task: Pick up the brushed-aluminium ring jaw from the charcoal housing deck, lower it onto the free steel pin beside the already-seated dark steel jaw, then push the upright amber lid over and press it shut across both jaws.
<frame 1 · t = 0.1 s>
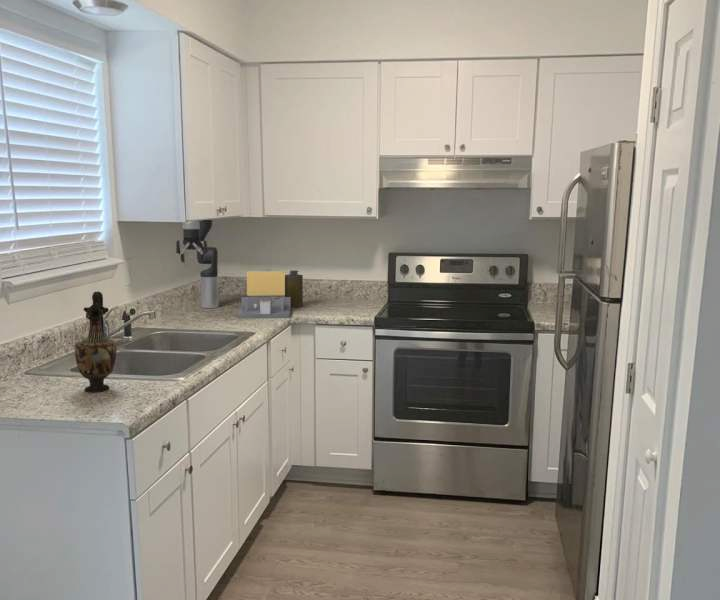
hand: (192, 262, 288), 29 cm above the countertop, fingers open, 8 cm apart
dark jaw: (276, 309, 320), point 2 cm above the countertop, touching housing base
vase: (98, 389, 188), on the countertop
canister: (293, 306, 344), on the countertop
silver jaw: (265, 313, 309), point 2 cm above the countertop, touching housing base
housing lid: (265, 283, 324), point 15 cm above the countertop, hinge at 99.0°
housing base: (264, 314, 317), on the countertop
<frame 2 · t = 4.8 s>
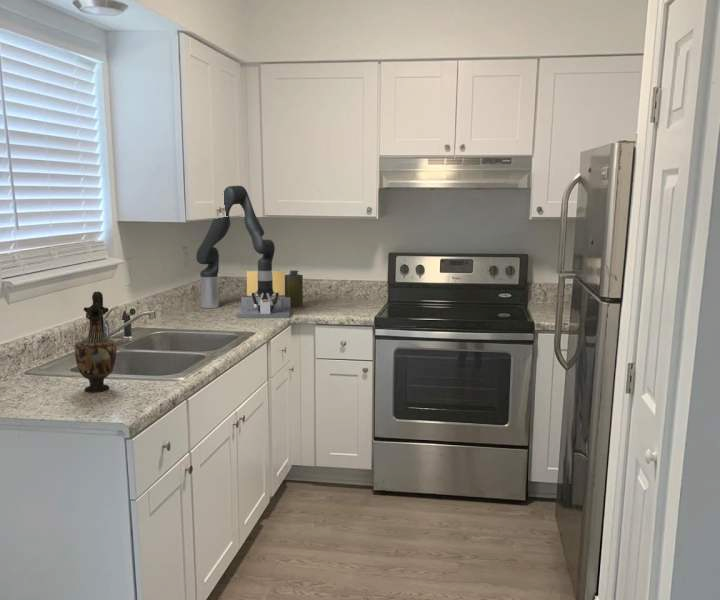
hand: (265, 312, 309), 2 cm above the countertop, fingers closed on silver jaw, 5 cm apart
silver jaw: (265, 313, 309), point 2 cm above the countertop, touching gripper, housing base
everything else where it was.
when the fingers open (4 cm above the countertop, at t = 9.9 s): silver jaw drops 1 cm, resting on housing base.
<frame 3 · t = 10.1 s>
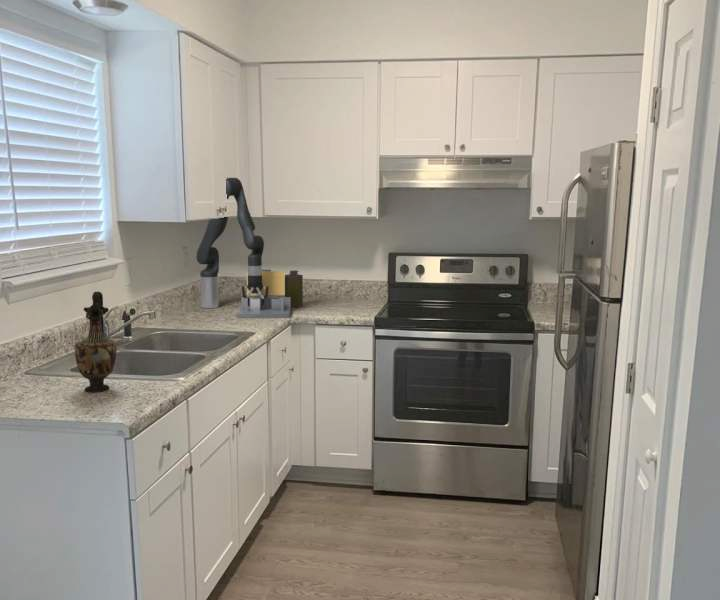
hand: (255, 305, 318), 4 cm above the countertop, fingers open, 6 cm apart
silver jaw: (255, 309, 319), point 2 cm above the countertop, touching housing base
everything else where it was.
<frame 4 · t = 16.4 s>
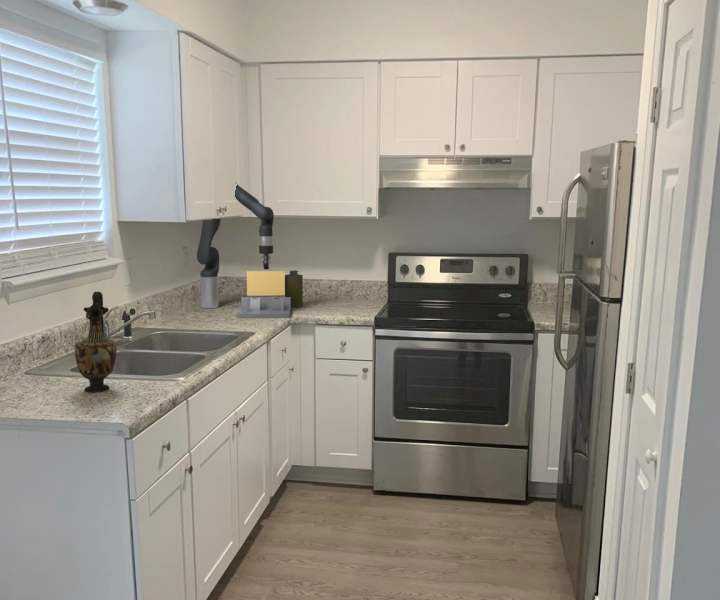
hand: (266, 276, 328), 18 cm above the countertop, fingers closed
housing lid: (265, 283, 324), point 15 cm above the countertop, hinge at 97.7°, touching gripper
everything else where it was.
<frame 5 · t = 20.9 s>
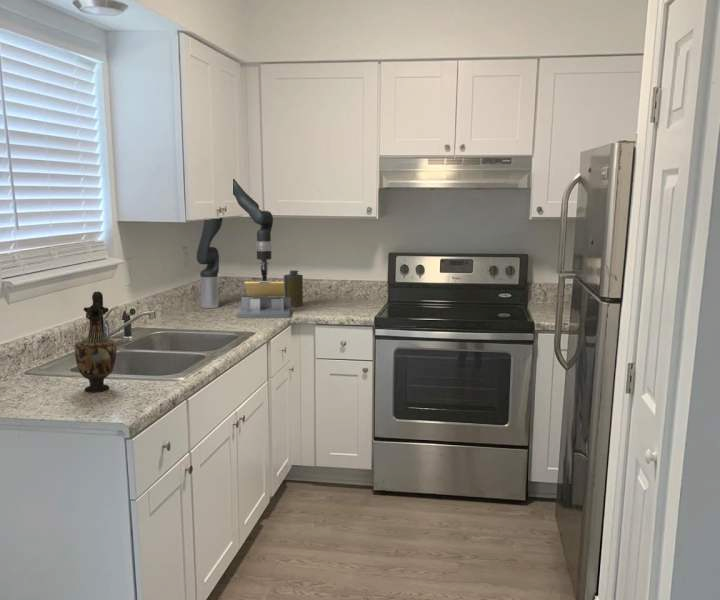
hand: (264, 283, 315), 16 cm above the countertop, fingers closed
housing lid: (265, 288, 318), point 13 cm above the countertop, hinge at 38.2°, touching gripper
everything else where it was.
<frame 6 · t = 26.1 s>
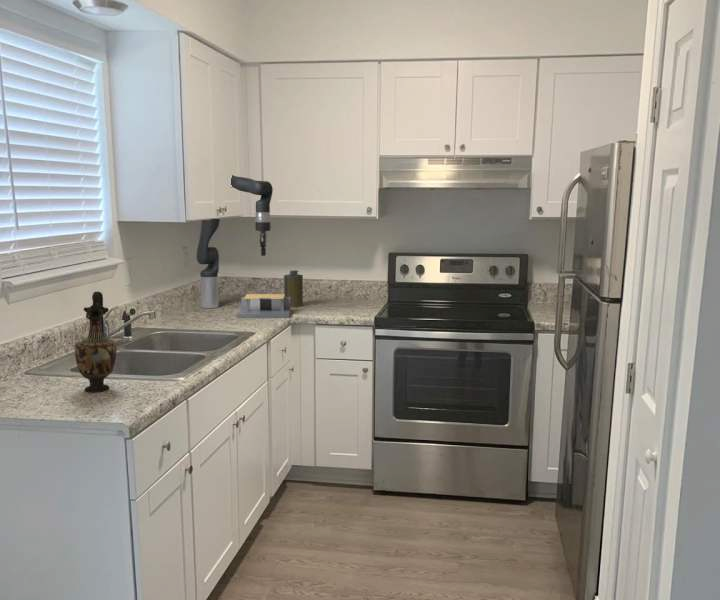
hand: (263, 255, 309), 31 cm above the countertop, fingers closed
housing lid: (264, 296, 317), point 9 cm above the countertop, hinge at 1.0°
everything else where it was.
at the end: silver jaw 0.0 cm from the target spot on the housing base, point 2.0 cm above the housing base's base; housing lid at +1° (first picture: +99°); silver jaw tilted 0° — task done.
